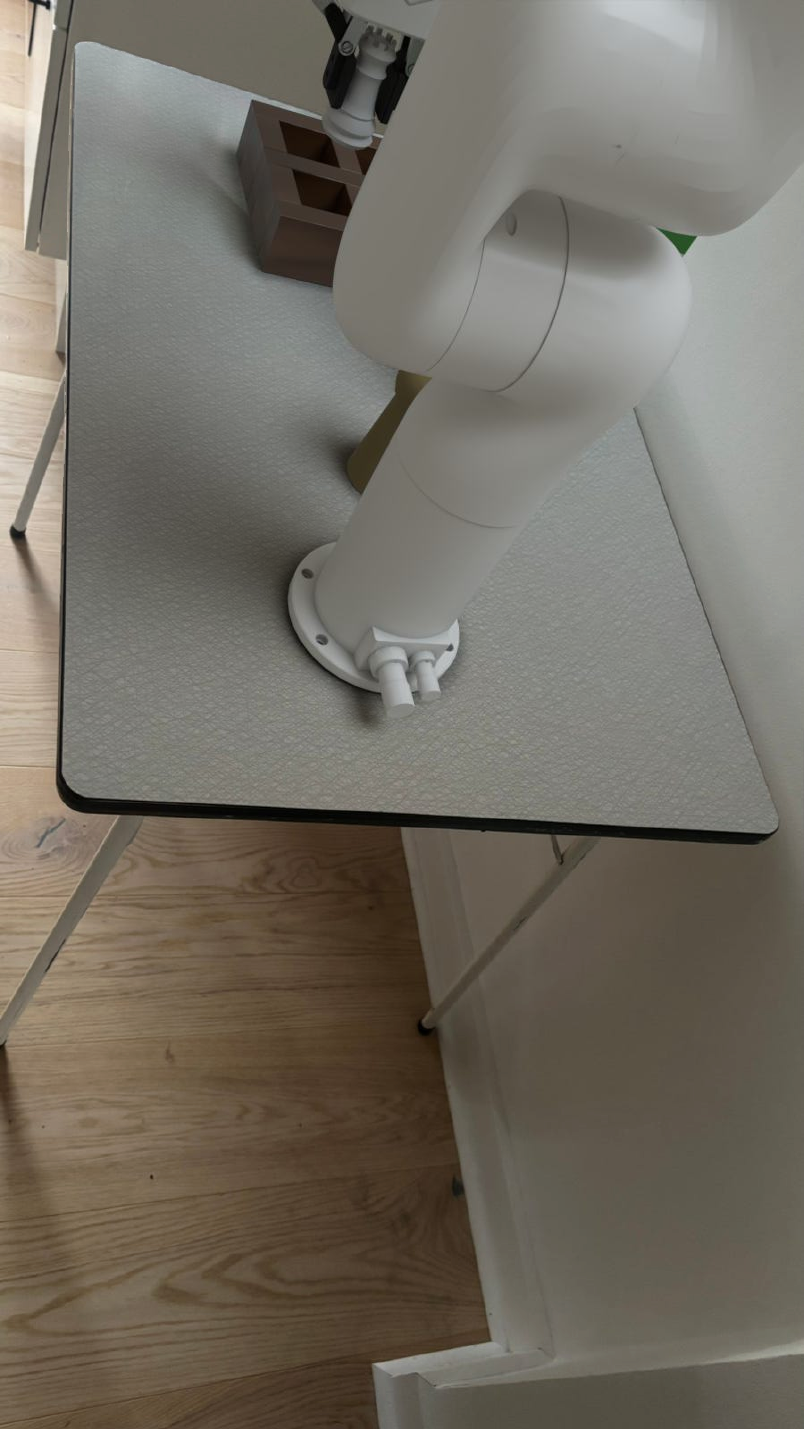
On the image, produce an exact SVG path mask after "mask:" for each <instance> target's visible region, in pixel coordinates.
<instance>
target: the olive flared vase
mask: <svg viewBox="0 0 804 1429" xmlns="http://www.w3.org/2000/svg"><path fill="white" fill-rule="evenodd" d="M431 379H432V378H431V377H427V376H423V375H418V374H414V373H410V372H406V371H403V370H399V369H398V372H397V374H396V376H395V382H394V395H393V397H392V398H391V399H390V401H389V402H388V403H387V405H386V406H385V408H384V409H383V411H382V412H381V413H380V415H379V416H378V418H377V419H376V420H375V422H374V423H373V424H372V426H371V427H370V428H369V430H368V432H366V434H365V436H364V437H363V438H362V440H361V441H360V442H359V444H358V445H357V447H356V448H355V449H354V451H353V452H352V454H351V455H350V457H349V458H348V460H347V461H346V473H347V477H348V480H349V481H350V482H351V484H352V485H353V487H354V488H355V489H356V491H358V492H359V493H360V494H361V495H362V494H363V492H364V490H365V488H366V486H367V485H368V483H369V481H370V479H371V477H372V475H373V473H374V471H375V469H376V468H377V466H378V464H379V462H380V460H381V458H382V456H383V454H384V452H385V450H386V449H387V447H388V445H389V443H390V441H391V439H392V437H393V435H394V434H395V432H396V430H397V428H398V427H399V425H400V423H401V421H402V419H403V417H404V415H405V413H406V412H407V410H408V408H409V407H410V405H411V403H412V402H413V400H414V399H415V397H416V396H417V395H418V393H419V392H420V391H421V390H422V388H423V387H424V386H425V385H426V384H427V383H428V382H429V381H430V380H431Z"/></svg>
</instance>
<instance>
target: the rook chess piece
mask: <svg viewBox="0 0 804 1429" xmlns="http://www.w3.org/2000/svg"><path fill="white" fill-rule="evenodd" d="M374 30H375V31H374ZM383 31H384V28H383V27H380V26H377V25H376V29H375V26H374V24H369V25H368V24H367V27H366V28H365V30H364V32H363V34H362V36H361V38H360V40H359V42H358V44H357V46H358V53H357V55H355V57H356V60H357V64H356V68H355V70H354V73H353V76H352V79H351V82H350V84H349V87H348V90H347V93H346V96H345V98H344V101H343V104H342V107H341V109H340V108H339V109H338V110H336V109H333V108H331V106H330V103H329V102H328V103H327V104H326V107H325V109H326V111H325V113H324V114H323V115H322V116H321V120H322V124H323V128H324V130H325V132H326V134H327V135H328V136H329V137H330V138H331V139H332V140H333V141H335V142H336V143H338V144H340V145H341V146H343V147H346V148H349V149H352V150H362V149H365V148H366V147H368V146H370V144H371V143H372V135H373V136H374V134H376V130H377V122H376V119H375V117H377V115H376V112H375V103H376V99H377V95H378V91H379V87H380V84H381V82H382V80H383V79H385V78H386V67H387V65H389V64H391V63H392V62H394V61H395V60H396V46H397V45H398V43H397V42H398V41H397V40H396V39H395V38H394V34H392V33H391V32H388V31H387V33H386V36H384V35H382V34H383Z"/></svg>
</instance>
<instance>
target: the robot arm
mask: <svg viewBox="0 0 804 1429" xmlns="http://www.w3.org/2000/svg"><path fill="white" fill-rule="evenodd" d="M311 2H312V3H313V5H315V7H316V9H318V11H319V12H320V14H322V15H323V17H324V18H325V19H326V22H327V25H328V27H329V29H330V31H331V34H332V36H333V38H334V42H333V44H332V48H331V51H330V54H329V56H328V60H327V62H326V65H325V68H324V72H323V74H322V86H323V89H324V90H325V93H326V96H327V99H328V103H330V106H331V108H333V109H336V110H338V109H339V108H340V109H341V107H342V104H343V101H344V98H345V96H346V93H347V90H348V87H349V84H350V82H351V79H352V76H353V73H354V70H355V68H356V64H357V60H356V55H355V53H356V51H357V46H358V42H359V40H360V38H361V36H362V34H363V33H365V30H366V28H367V27H368V24H371V25H373V26H374V25H375V26H376V27H377V26H378V27H381V28H383V29H385V30H388V31H391V32H394V33H397V34H399V35H401V36H400V40H399V44H398V48H397V51H396V50H395V53H396V60H395V61H394V62H392V63H391V64H389V65H387V67H386V78H385V79H383V80H382V82H381V84H380V87H379V91H378V95H377V99H376V103H375V114H376V119H377V121H378V122H379V123H380V124H383V125H386V126H387V127H386V129H385V131H384V134H383V136H382V137H381V138H382V140H381V143H380V145H379V147H378V149H377V151H376V154H375V156H374V158H373V160H372V163H371V165H370V167H369V169H368V172H367V174H366V176H365V178H364V181H363V183H362V185H361V188H360V190H359V193H358V195H357V197H356V200H355V202H354V204H353V207H352V210H351V212H350V215H349V218H348V220H347V223H346V226H345V229H344V232H343V235H342V239H341V243H340V247H339V251H338V254H337V258H336V264H335V269H334V278H333V287H332V302H333V309H334V314H335V318H336V319H335V320H336V322H337V324H338V327H339V329H340V331H341V332H342V335H343V336H344V338H345V339H346V341H347V342H348V343H349V344H350V345H351V346H352V347H353V348H354V349H355V350H356V351H357V352H359V353H360V354H361V355H362V356H364V357H366V358H368V359H370V360H371V361H373V362H375V363H378V364H380V365H383V366H386V367H390V368H392V369H395V370H398V371H399V370H403V371H406V372H410V373H414V374H418V375H423V376H427V377H431V378H432V379H431V380H430V381H429V382H428V383H427V384H426V385H425V386H424V387H423V388H422V390H421V391H420V392H419V393H418V395H417V396H416V397H415V399H414V400H413V402H412V403H411V405H410V407H409V408H408V410H407V412H406V413H405V415H404V417H403V419H402V421H401V423H400V425H399V427H398V428H397V430H396V432H395V434H394V435H393V437H392V439H391V441H390V443H389V445H388V447H387V449H386V450H385V452H384V454H383V456H382V458H381V460H380V462H379V464H378V466H377V468H376V469H375V471H374V473H373V475H372V477H371V479H370V481H369V483H368V485H367V486H366V488H365V490H364V492H363V494H361V496H360V497H359V500H358V501H357V504H356V506H355V507H354V508H353V511H352V513H351V515H350V516H349V519H348V520H347V522H346V525H345V526H344V528H343V530H342V531H341V534H340V536H339V537H338V540H337V541H333V542H329V543H327V544H322V545H321V546H319V547H317V548H315V549H314V550H311V551H310V553H308V554H307V555H306V556H305V557H304V558H302V560H301V561H300V563H299V564H298V566H297V567H296V569H295V572H294V574H293V577H292V579H291V581H290V584H289V588H288V593H287V605H288V613H289V616H290V621H291V624H292V627H293V628H294V631H295V633H296V634H297V636H298V638H299V640H300V642H301V643H302V644H303V646H304V647H305V648H306V649H307V651H308V652H309V653H310V655H311V656H312V657H313V658H314V659H315V660H316V661H317V662H318V663H319V664H320V665H322V667H324V669H326V670H328V671H329V672H330V673H332V674H333V675H335V676H336V677H338V678H339V679H340V680H342V681H345V682H346V683H349V684H351V685H353V686H355V687H357V688H360V689H363V690H367V691H370V692H373V693H380V694H381V698H382V703H383V707H384V711H385V715H386V717H387V718H389V719H393V720H398V719H399V720H400V719H404V718H406V717H408V716H410V715H412V714H413V713H414V712H415V710H416V705H415V701H414V698H413V693H414V692H418V693H419V698H420V700H421V701H422V702H426V703H429V702H434V701H436V700H438V699H439V698H441V696H442V690H441V687H440V684H439V679H441V678H442V677H443V676H444V674H445V673H446V672H447V670H448V669H449V668H450V667H451V665H452V663H453V662H454V660H455V658H456V657H457V654H458V649H459V646H460V626H459V621H458V618H459V617H460V616H461V614H462V613H463V612H464V610H465V609H466V608H467V606H468V605H469V604H470V602H471V601H472V599H473V598H474V597H475V596H476V594H477V593H478V591H479V590H480V589H481V587H482V586H483V584H484V583H485V582H486V581H487V579H488V578H489V577H490V575H491V574H492V572H493V571H494V570H495V568H496V567H497V566H498V564H499V563H500V562H501V560H502V559H503V558H504V556H505V555H506V554H507V552H509V550H510V548H511V547H512V546H513V544H514V543H515V541H516V540H518V538H519V536H520V534H521V533H522V532H523V531H524V529H525V528H526V526H527V525H528V524H529V523H530V522H531V520H532V518H533V517H534V516H535V515H536V514H537V513H538V511H539V510H540V508H541V507H542V506H543V505H544V504H545V502H546V501H547V500H548V498H549V496H550V495H551V494H552V493H553V491H554V490H555V489H556V488H557V486H558V485H559V484H560V482H561V481H562V480H563V478H564V477H565V476H566V475H567V474H568V472H569V471H570V470H571V469H572V467H574V465H575V464H576V463H577V462H578V460H579V459H580V458H581V457H582V456H583V455H584V454H585V453H586V452H587V451H588V450H589V449H591V447H593V445H594V444H595V443H596V442H597V441H598V440H599V439H600V438H602V436H604V434H606V433H607V432H608V431H609V430H610V429H612V428H613V427H614V426H615V425H617V423H619V421H621V420H622V419H623V418H624V417H626V416H627V415H628V414H629V413H630V412H631V411H632V410H634V409H635V407H637V406H638V405H639V404H640V403H641V402H643V400H644V399H645V398H646V397H647V396H648V395H649V394H650V393H651V392H652V391H653V389H654V388H656V386H657V385H658V384H659V383H660V381H661V380H662V379H663V377H664V376H665V375H666V373H667V372H668V371H669V369H670V368H671V367H672V365H673V363H674V361H675V359H676V358H677V355H678V353H679V352H680V350H681V349H682V348H681V347H682V345H683V343H684V341H685V338H686V336H687V332H688V329H689V325H690V320H691V315H692V308H693V288H692V282H691V278H690V273H689V270H688V268H687V265H686V262H685V261H684V258H682V257H681V255H680V253H679V252H678V250H677V249H676V247H675V246H674V245H673V244H672V242H671V241H670V240H669V239H668V238H667V237H666V236H665V235H664V234H663V233H661V232H660V231H659V230H658V229H656V228H659V229H663V230H667V231H670V232H674V233H679V234H685V235H691V236H697V237H714V236H718V235H723V234H726V233H728V232H731V231H733V230H736V229H738V228H740V226H742V225H744V224H745V223H746V222H748V221H749V220H750V219H752V218H753V217H754V216H755V215H756V214H757V213H758V212H760V210H761V209H762V208H763V207H765V206H766V205H767V204H768V202H770V200H772V198H773V197H774V196H775V195H776V194H777V193H778V192H779V190H781V189H782V188H783V187H784V185H785V184H786V183H787V182H788V181H789V180H790V178H791V177H792V176H793V175H794V174H795V173H796V172H797V170H798V169H799V168H800V167H801V166H802V165H803V163H804V0H311ZM340 5H341V6H340Z"/></svg>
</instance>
